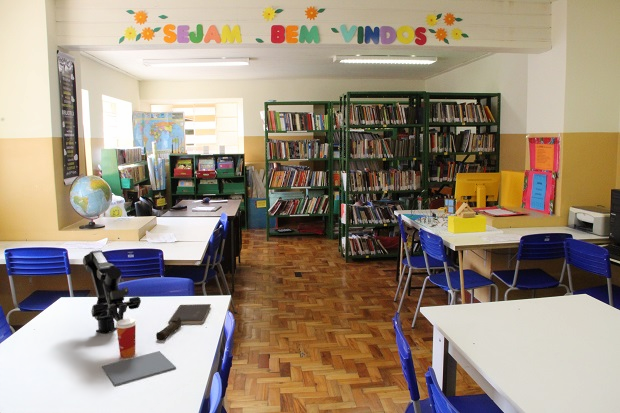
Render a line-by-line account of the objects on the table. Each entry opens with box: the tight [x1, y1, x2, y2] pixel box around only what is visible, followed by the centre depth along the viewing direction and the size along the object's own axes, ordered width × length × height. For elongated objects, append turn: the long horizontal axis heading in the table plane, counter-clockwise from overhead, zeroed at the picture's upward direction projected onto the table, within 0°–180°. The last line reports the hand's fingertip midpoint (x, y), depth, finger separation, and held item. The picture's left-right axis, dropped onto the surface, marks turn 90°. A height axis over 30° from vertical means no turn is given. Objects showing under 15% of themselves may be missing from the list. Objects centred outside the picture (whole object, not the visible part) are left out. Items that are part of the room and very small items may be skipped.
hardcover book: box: [167, 303, 211, 325], centre depth 242 cm, size 16×23×2 cm
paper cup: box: [115, 318, 137, 359], centre depth 197 cm, size 8×8×14 cm
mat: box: [101, 350, 177, 387], centre depth 186 cm, size 18×22×1 cm
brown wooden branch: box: [155, 317, 182, 341], centre depth 221 cm, size 19×4×5 cm, turn 166°
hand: (121, 324), depth 202 cm, fingers closed
